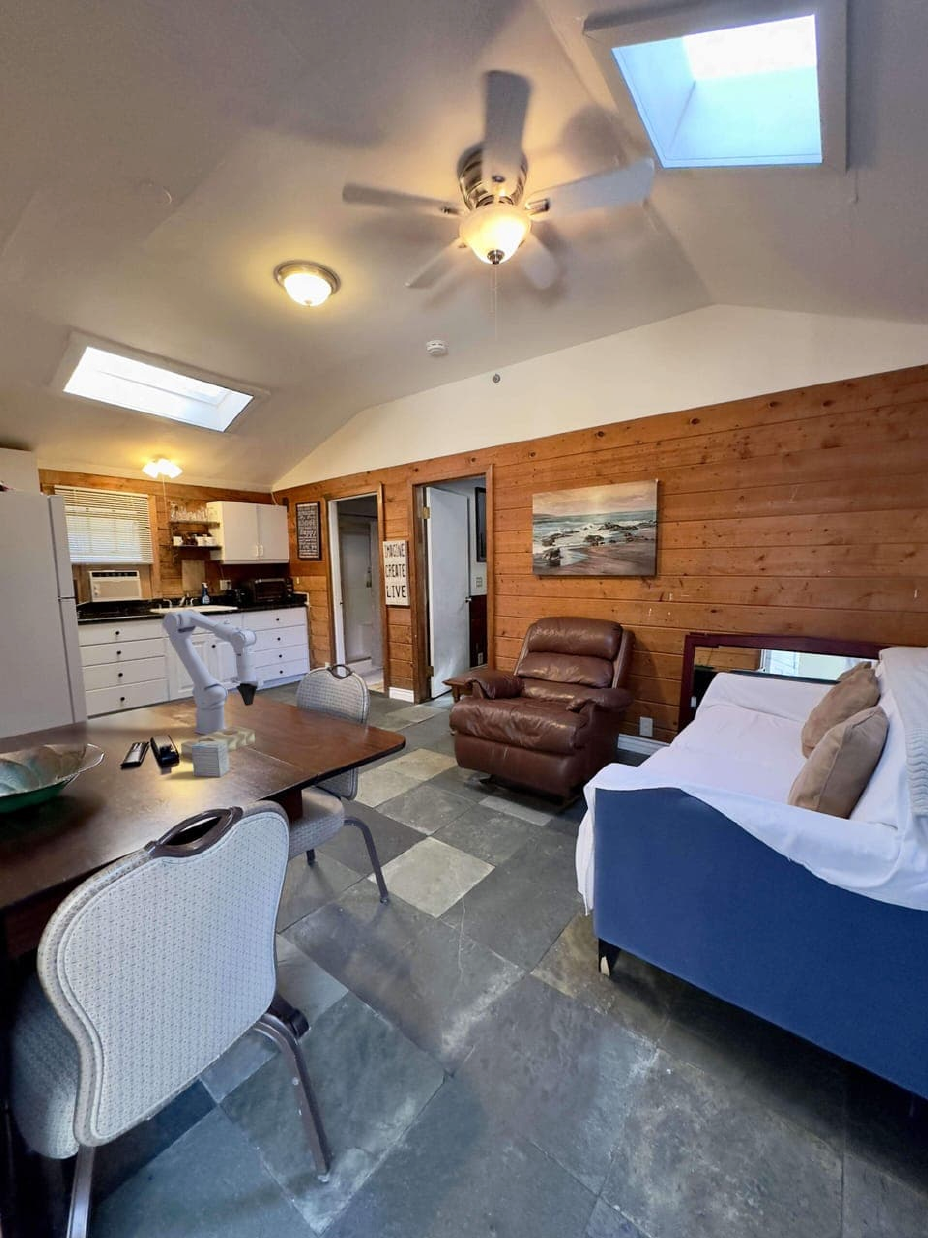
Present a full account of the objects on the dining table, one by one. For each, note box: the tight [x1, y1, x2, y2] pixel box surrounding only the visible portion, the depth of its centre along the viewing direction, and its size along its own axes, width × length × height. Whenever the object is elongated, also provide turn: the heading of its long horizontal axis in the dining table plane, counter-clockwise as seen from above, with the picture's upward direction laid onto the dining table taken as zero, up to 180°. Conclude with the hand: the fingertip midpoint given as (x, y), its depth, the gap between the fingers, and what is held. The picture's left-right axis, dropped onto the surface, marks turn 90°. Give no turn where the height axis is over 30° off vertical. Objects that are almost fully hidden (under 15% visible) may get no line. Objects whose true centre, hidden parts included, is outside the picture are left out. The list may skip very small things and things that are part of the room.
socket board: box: [180, 725, 256, 761], centre depth 150 cm, size 18×10×4 cm, turn 150°
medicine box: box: [192, 741, 230, 778], centre depth 132 cm, size 8×4×9 cm, turn 84°
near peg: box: [199, 738, 214, 742], centre depth 147 cm, size 3×3×4 cm
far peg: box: [223, 730, 238, 735], centre depth 154 cm, size 3×3×4 cm
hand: (248, 705), depth 162 cm, fingers closed
